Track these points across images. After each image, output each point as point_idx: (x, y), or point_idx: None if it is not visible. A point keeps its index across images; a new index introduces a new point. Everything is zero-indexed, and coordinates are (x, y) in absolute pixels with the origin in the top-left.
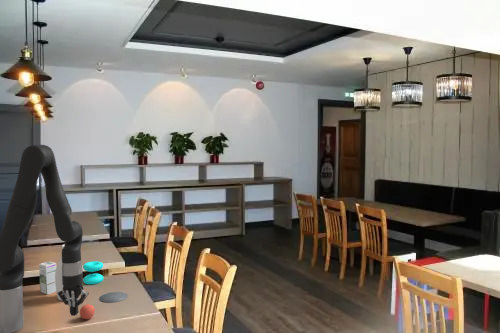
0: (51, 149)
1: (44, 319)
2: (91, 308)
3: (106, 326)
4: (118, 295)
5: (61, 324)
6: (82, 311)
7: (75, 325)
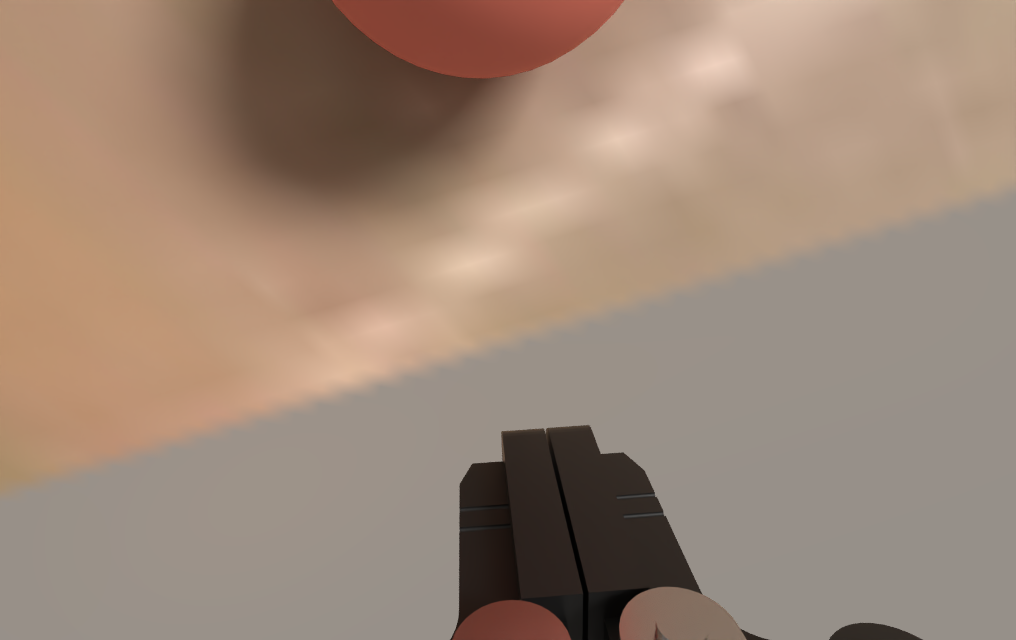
0: None
1: None
2: None
3: (965, 131)
4: None
5: (194, 288)
6: (463, 57)
7: (450, 250)
